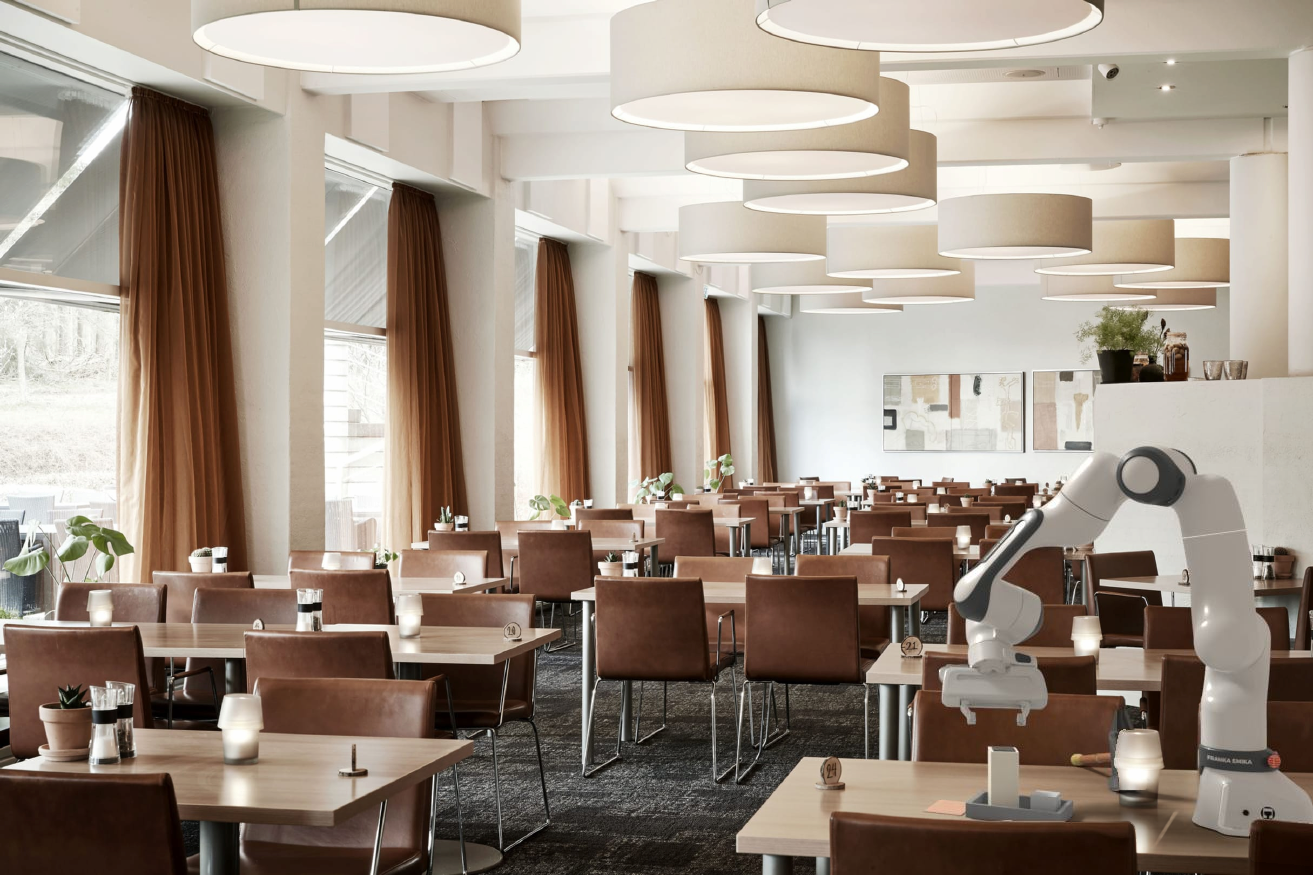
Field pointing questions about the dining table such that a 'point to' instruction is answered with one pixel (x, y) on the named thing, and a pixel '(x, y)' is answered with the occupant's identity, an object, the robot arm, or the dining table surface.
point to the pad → (948, 807)
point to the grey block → (1045, 801)
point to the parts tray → (1015, 810)
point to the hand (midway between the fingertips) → (996, 723)
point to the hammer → (1118, 724)
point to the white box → (1003, 776)
